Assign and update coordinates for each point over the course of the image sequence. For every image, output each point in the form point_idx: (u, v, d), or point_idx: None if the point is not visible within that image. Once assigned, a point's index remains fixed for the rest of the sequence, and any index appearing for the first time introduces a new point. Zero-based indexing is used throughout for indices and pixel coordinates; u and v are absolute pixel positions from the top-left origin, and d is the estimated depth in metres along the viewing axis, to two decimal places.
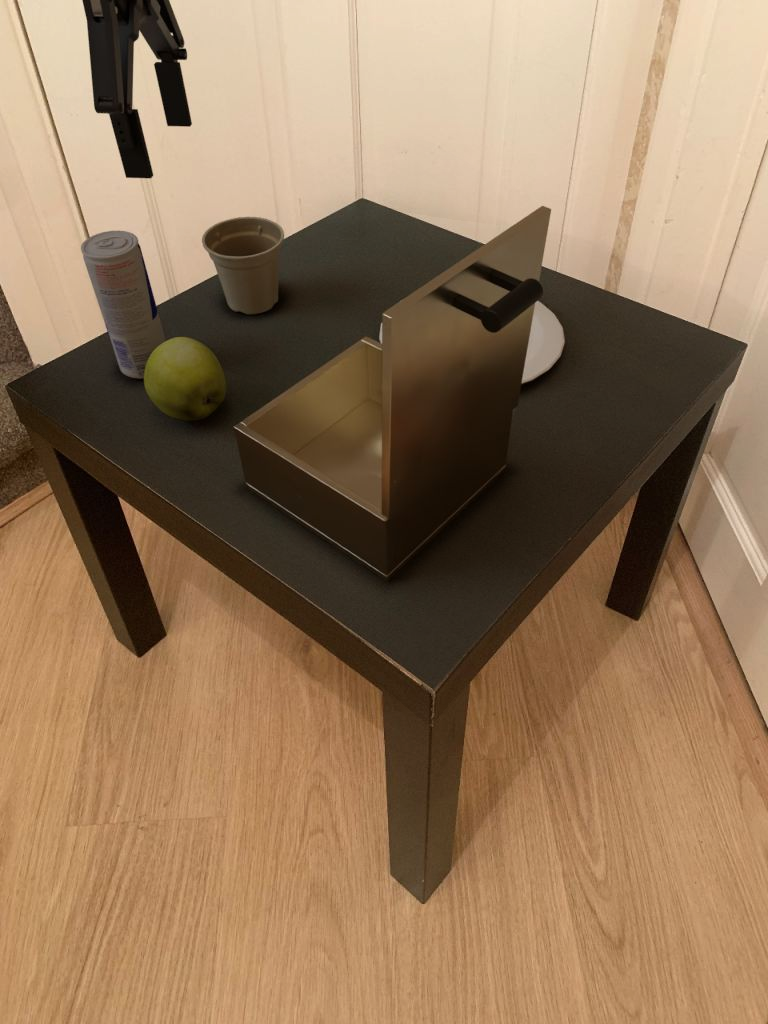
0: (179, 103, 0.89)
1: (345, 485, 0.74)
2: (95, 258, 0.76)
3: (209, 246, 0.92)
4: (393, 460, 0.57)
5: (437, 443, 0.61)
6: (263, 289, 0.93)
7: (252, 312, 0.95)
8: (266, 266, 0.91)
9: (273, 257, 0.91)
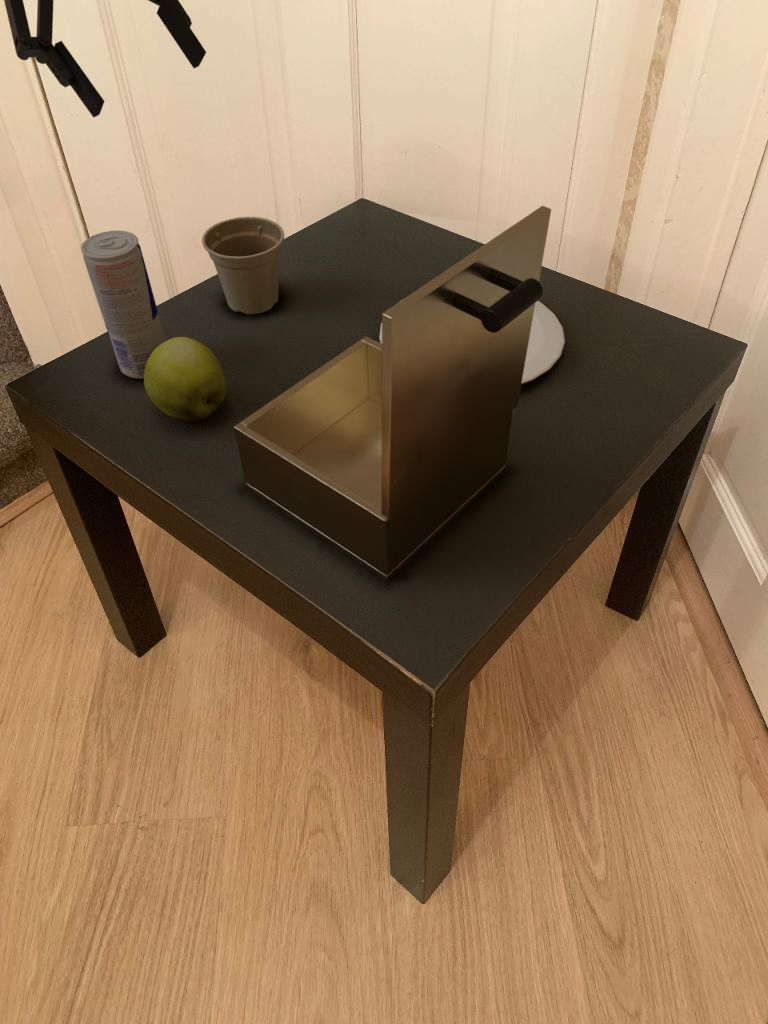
0: None
1: (345, 485, 0.74)
2: (95, 258, 0.76)
3: (209, 246, 0.92)
4: (393, 460, 0.57)
5: (437, 443, 0.61)
6: (263, 289, 0.93)
7: (252, 312, 0.95)
8: (266, 266, 0.91)
9: (273, 257, 0.91)
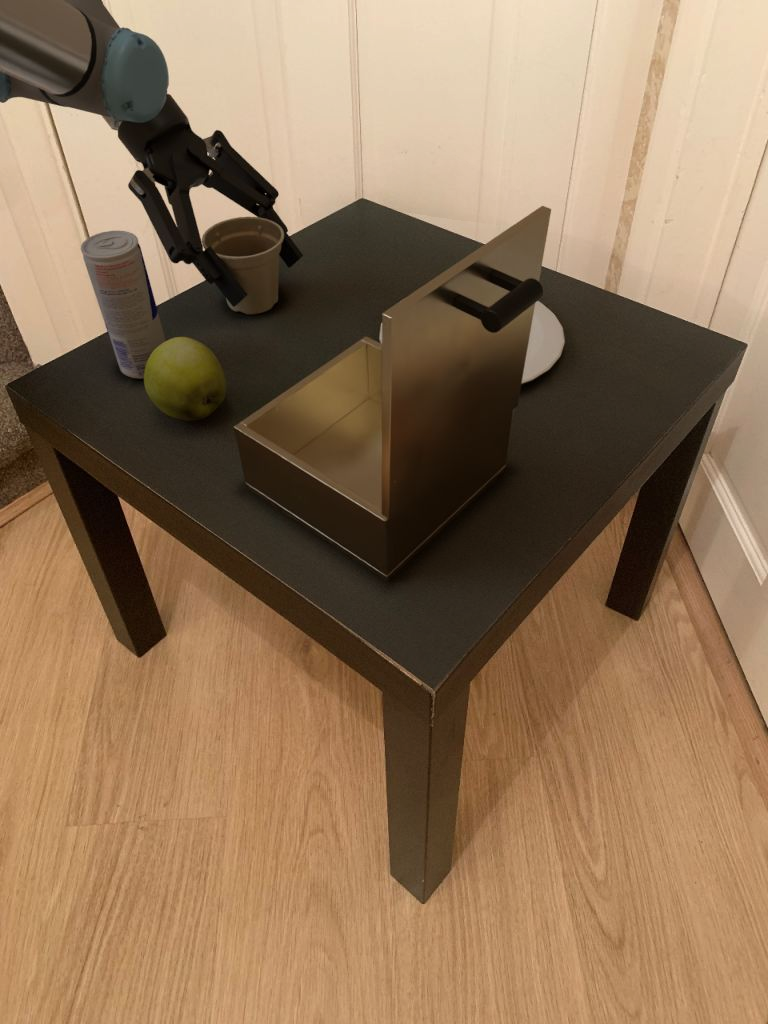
0: None
1: (345, 485, 0.74)
2: (95, 258, 0.76)
3: (209, 246, 0.92)
4: (393, 460, 0.57)
5: (437, 443, 0.61)
6: (263, 289, 0.93)
7: (252, 312, 0.95)
8: (266, 266, 0.91)
9: (273, 257, 0.91)
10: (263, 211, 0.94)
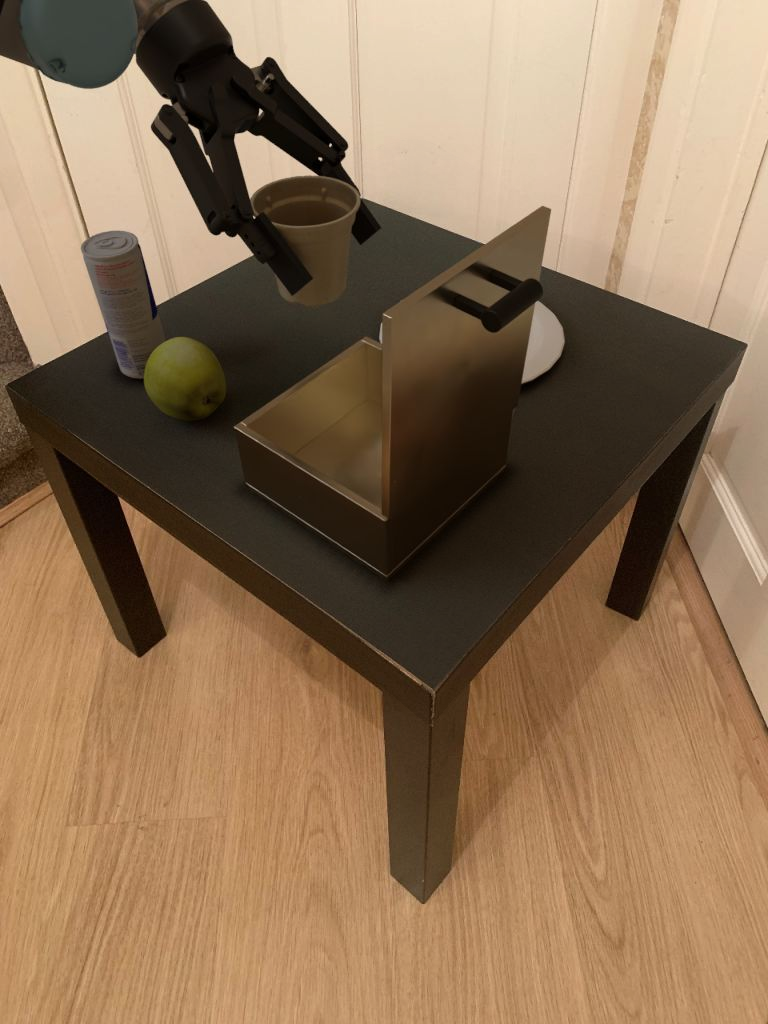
0: None
1: (345, 485, 0.74)
2: (95, 258, 0.76)
3: (258, 214, 0.68)
4: (393, 460, 0.57)
5: (437, 443, 0.61)
6: (330, 272, 0.69)
7: (314, 303, 0.71)
8: (337, 240, 0.67)
9: (347, 228, 0.67)
10: (328, 168, 0.71)
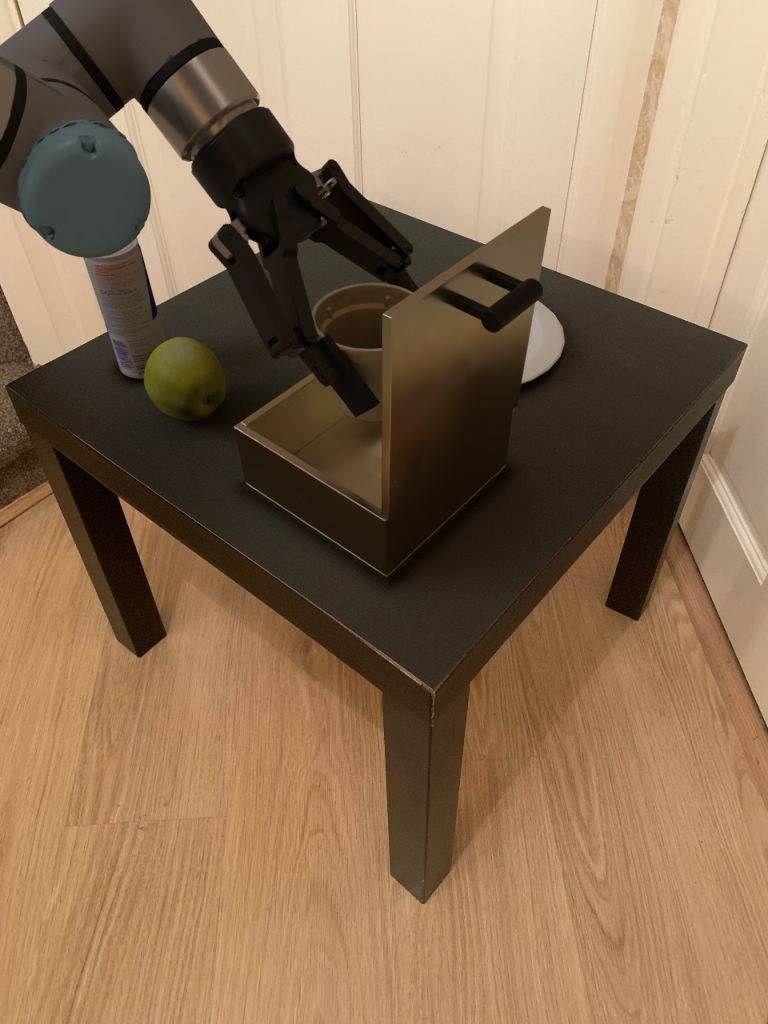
0: None
1: (345, 485, 0.74)
2: (95, 258, 0.76)
3: (319, 328, 0.64)
4: (393, 460, 0.57)
5: (437, 443, 0.61)
6: None
7: (376, 419, 0.66)
8: None
9: None
10: (392, 274, 0.66)
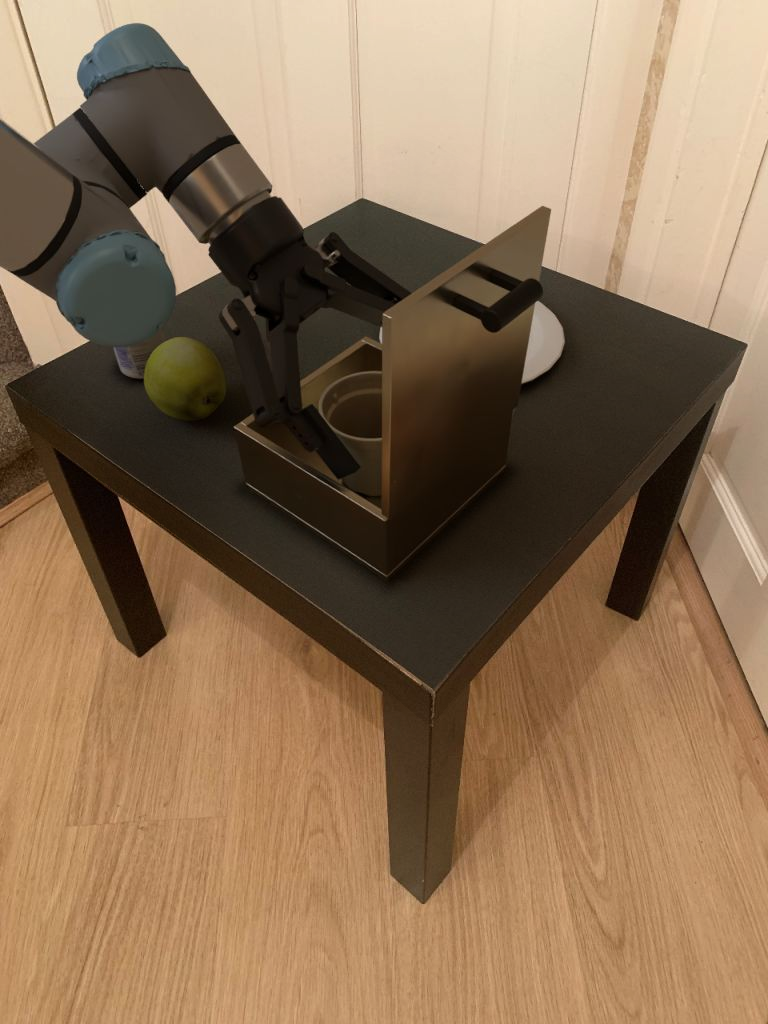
0: None
1: (345, 485, 0.74)
2: None
3: (326, 414, 0.70)
4: (393, 460, 0.57)
5: (437, 443, 0.61)
6: None
7: (377, 494, 0.73)
8: None
9: None
10: None
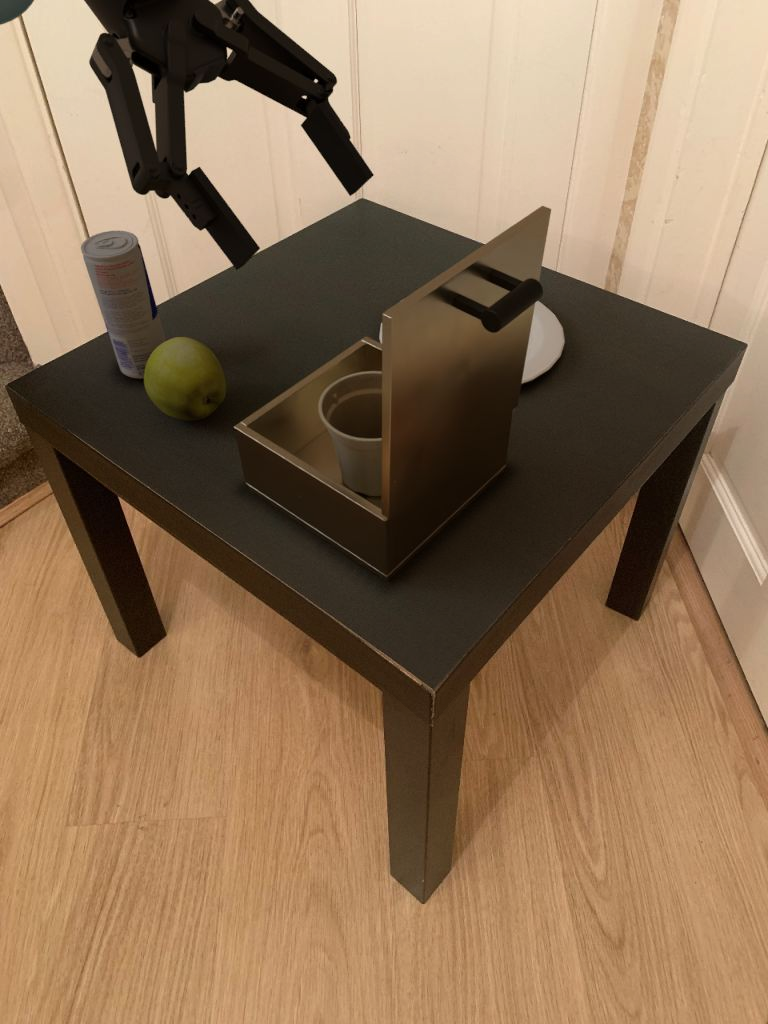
0: None
1: (345, 485, 0.74)
2: (95, 258, 0.76)
3: (325, 414, 0.70)
4: (393, 460, 0.57)
5: (437, 443, 0.61)
6: None
7: (377, 494, 0.73)
8: None
9: None
10: (315, 107, 0.62)
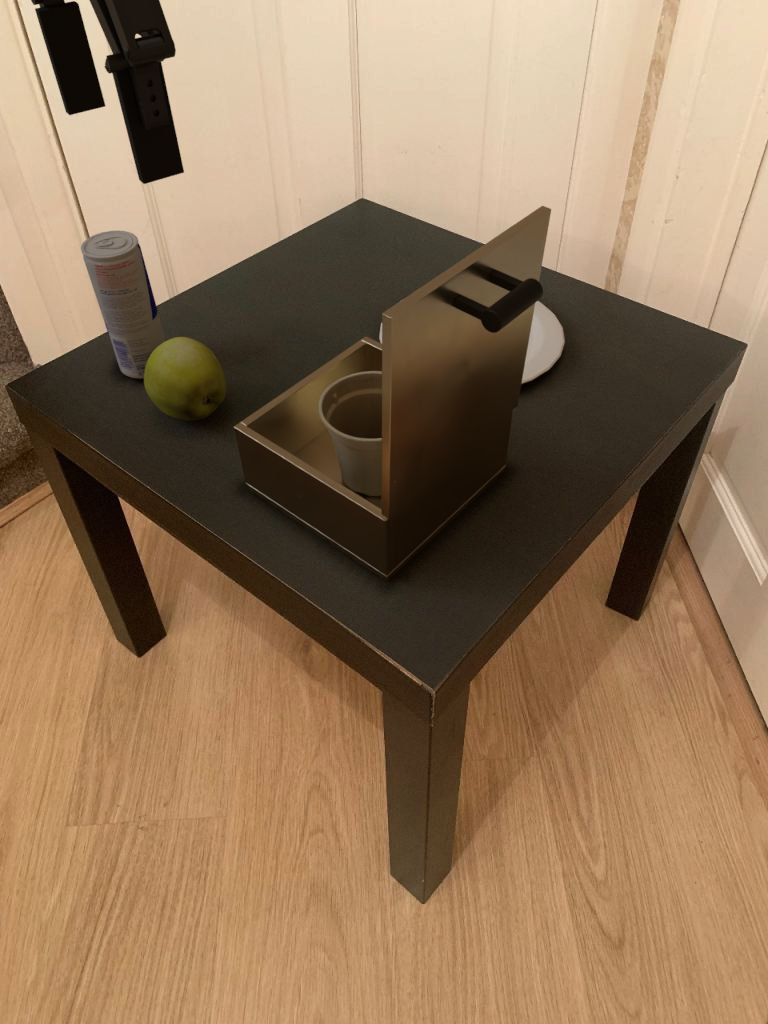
0: None
1: (345, 485, 0.74)
2: (95, 258, 0.76)
3: (325, 414, 0.70)
4: (393, 460, 0.57)
5: (437, 443, 0.61)
6: None
7: (377, 494, 0.73)
8: None
9: None
10: (58, 0, 0.53)
